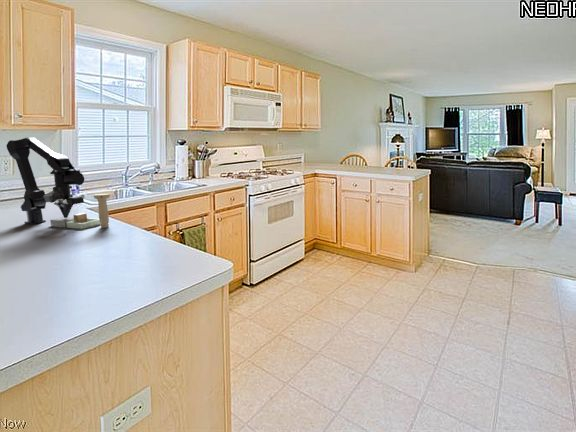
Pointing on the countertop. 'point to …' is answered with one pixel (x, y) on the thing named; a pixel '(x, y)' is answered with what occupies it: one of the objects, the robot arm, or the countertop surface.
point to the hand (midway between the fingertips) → (65, 217)
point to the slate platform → (61, 221)
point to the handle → (103, 209)
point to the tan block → (80, 218)
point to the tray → (84, 224)
